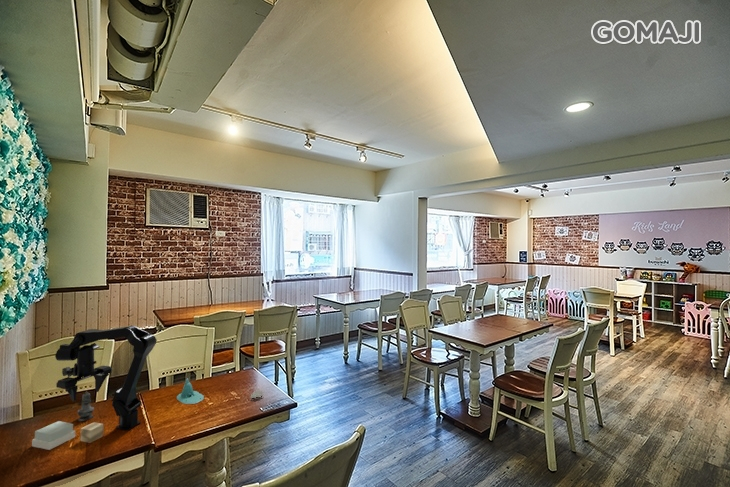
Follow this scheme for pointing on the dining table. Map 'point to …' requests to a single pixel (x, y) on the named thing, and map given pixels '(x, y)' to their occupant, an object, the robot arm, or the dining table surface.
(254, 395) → the car cutout
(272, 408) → the dining table surface
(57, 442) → the tower base block
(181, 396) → the teal witch hat
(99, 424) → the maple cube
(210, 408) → the dining table surface
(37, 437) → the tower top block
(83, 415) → the grey stone pagoda
